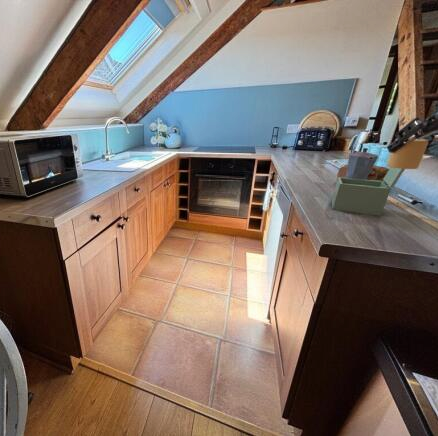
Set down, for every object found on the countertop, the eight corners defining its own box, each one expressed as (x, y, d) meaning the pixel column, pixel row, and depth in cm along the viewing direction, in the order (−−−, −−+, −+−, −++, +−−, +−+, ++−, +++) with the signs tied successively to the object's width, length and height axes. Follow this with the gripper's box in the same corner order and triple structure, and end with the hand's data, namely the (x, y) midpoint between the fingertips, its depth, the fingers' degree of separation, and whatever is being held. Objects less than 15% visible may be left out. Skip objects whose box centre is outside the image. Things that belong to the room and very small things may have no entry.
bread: (342, 186, 119) (348, 166, 115) (334, 181, 128) (339, 162, 124) (389, 189, 113) (397, 167, 110) (377, 183, 123) (384, 163, 119)
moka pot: (347, 199, 101) (362, 149, 93) (328, 189, 115) (340, 145, 107) (373, 200, 99) (390, 150, 92) (350, 189, 114) (364, 145, 106)
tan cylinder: (394, 164, 69) (404, 138, 66) (423, 167, 63) (434, 139, 61) (381, 165, 67) (390, 139, 64) (409, 169, 62) (420, 141, 59)
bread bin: (332, 209, 91) (340, 183, 87) (331, 200, 100) (338, 177, 96) (380, 216, 84) (391, 188, 80) (374, 206, 93) (383, 181, 89)
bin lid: (418, 142, 73) (421, 143, 73) (407, 139, 82) (410, 140, 82) (390, 186, 80) (393, 187, 80) (382, 179, 89) (385, 180, 89)
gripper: (503, 83, 51) (418, 137, 67) (440, 84, 51) (369, 139, 66) (526, 109, 49) (432, 160, 64) (460, 111, 48) (381, 162, 63)
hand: (401, 149), depth 65 cm, fingers closed on tan cylinder, 6 cm apart
